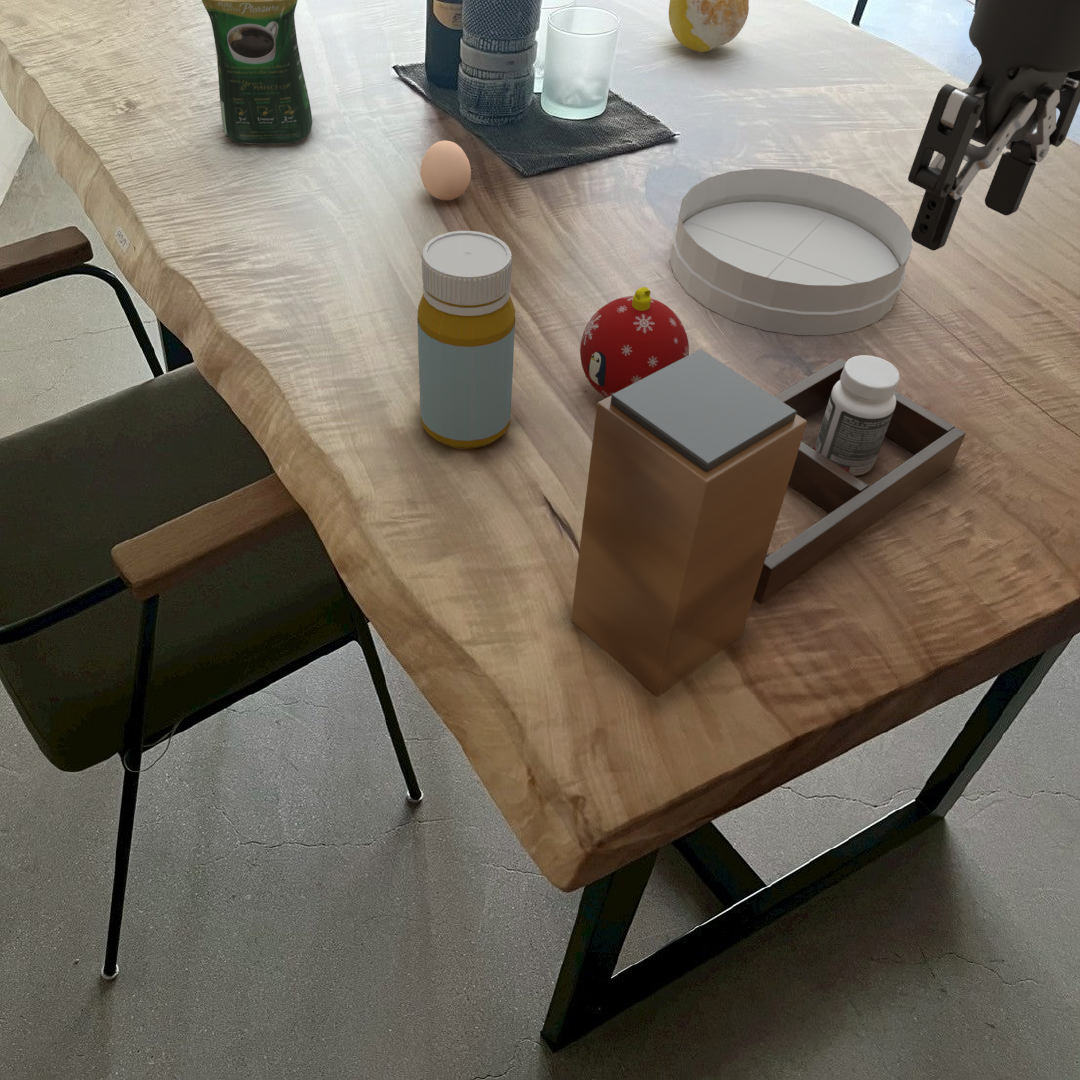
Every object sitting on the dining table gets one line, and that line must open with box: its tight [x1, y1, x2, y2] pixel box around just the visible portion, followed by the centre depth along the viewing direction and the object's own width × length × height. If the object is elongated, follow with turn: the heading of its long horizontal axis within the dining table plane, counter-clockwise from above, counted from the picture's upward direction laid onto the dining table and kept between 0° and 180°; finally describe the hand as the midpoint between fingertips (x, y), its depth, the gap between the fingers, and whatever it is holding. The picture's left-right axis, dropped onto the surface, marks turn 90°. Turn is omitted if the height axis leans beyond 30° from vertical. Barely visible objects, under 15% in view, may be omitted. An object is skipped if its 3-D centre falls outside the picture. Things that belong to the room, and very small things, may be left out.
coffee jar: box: [201, 0, 313, 145], centre depth 109 cm, size 10×8×19 cm
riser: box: [570, 396, 808, 698], centre depth 62 cm, size 8×8×18 cm
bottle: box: [416, 230, 516, 450], centre depth 77 cm, size 7×7×15 cm
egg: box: [420, 140, 472, 201], centre depth 105 cm, size 5×5×6 cm
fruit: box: [668, 0, 750, 53], centre depth 137 cm, size 10×11×10 cm
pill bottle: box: [813, 354, 901, 477], centre depth 79 cm, size 5×5×8 cm
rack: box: [753, 357, 967, 605], centre depth 78 cm, size 12×23×4 cm, turn 131°
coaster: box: [611, 348, 797, 472], centre depth 56 cm, size 7×7×1 cm
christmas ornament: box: [579, 286, 690, 399], centre depth 82 cm, size 9×9×10 cm
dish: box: [669, 168, 913, 336], centre depth 100 cm, size 22×22×5 cm
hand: (963, 226), depth 71 cm, fingers open, 8 cm apart
